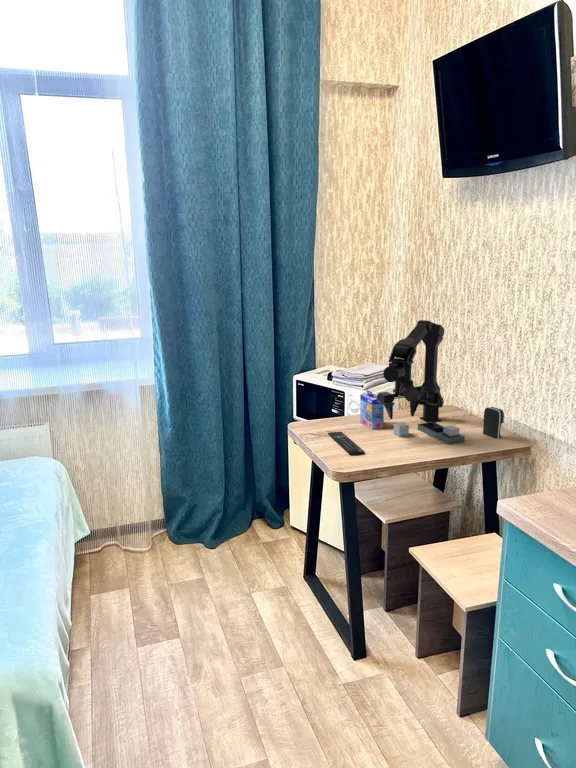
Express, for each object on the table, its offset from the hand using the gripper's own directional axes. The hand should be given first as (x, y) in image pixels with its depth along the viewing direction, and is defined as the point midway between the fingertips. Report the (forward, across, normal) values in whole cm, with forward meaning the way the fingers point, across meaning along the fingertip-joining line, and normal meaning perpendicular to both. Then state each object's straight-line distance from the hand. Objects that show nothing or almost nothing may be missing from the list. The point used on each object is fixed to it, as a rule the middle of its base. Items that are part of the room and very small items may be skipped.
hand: (401, 417), depth 215 cm
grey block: (+8, 0, 0) cm, 8 cm away
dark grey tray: (+8, +13, -7) cm, 16 cm away
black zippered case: (+8, +31, -14) cm, 35 cm away
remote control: (+8, -23, +1) cm, 24 cm away
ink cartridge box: (+8, -3, +17) cm, 19 cm away
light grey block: (+7, +13, -13) cm, 19 cm away
